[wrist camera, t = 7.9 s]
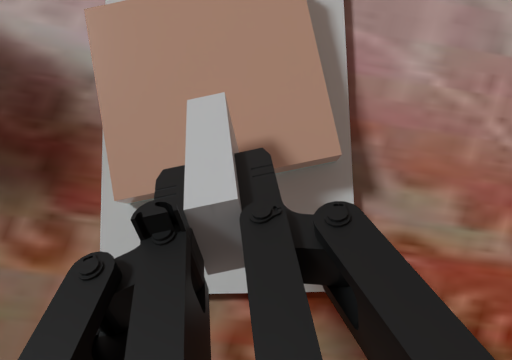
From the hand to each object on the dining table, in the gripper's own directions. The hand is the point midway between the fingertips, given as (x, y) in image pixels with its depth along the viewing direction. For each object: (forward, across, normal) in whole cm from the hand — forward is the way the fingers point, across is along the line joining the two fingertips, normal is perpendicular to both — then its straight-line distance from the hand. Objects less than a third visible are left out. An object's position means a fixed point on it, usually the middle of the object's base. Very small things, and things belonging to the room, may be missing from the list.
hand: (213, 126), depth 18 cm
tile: (0, 0, -3) cm, 3 cm away
